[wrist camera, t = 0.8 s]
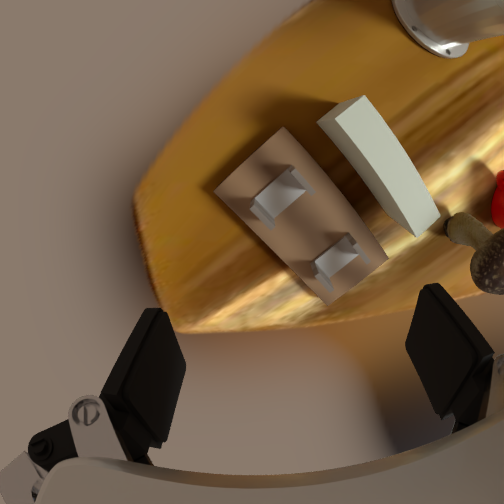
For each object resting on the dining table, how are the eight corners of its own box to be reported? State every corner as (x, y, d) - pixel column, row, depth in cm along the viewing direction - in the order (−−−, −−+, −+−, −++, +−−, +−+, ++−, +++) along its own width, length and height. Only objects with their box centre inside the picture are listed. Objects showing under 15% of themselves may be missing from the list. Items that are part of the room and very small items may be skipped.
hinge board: (282, 126, 27) (286, 125, 22) (382, 251, 32) (398, 269, 28) (216, 187, 30) (208, 198, 25) (324, 297, 36) (332, 320, 31)
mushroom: (478, 211, 29) (546, 255, 15) (452, 259, 33) (511, 317, 19) (444, 179, 28) (524, 216, 14) (415, 234, 31) (482, 295, 18)
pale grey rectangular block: (339, 102, 25) (365, 94, 18) (406, 195, 29) (441, 215, 22) (315, 122, 26) (334, 118, 19) (386, 213, 30) (416, 238, 23)
